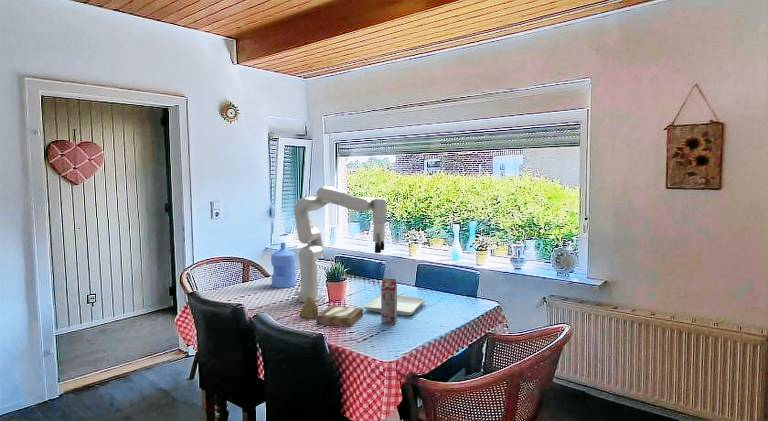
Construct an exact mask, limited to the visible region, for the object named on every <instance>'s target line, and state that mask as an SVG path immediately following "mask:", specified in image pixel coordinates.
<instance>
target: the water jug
mask: <svg viewBox="0 0 768 421" xmlns="http://www.w3.org/2000/svg"><path fill="white" fill-rule="evenodd" d="M270 259H271V266H272V267H273V274H271V286H272V287H273V288H279V289H287V288H292V287H295V286H296V284H297V280H296V279H297V278H296V276H297V275H296V272H297V269H296V268H297V267H296V253H295V252H293V251H291V250H290V249H287V248H286V242H280V249H279V250H277V251H275V252H273V253H271V256H270Z"/></svg>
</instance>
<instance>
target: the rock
mask: <svg viewBox="0 0 768 421" xmlns="http://www.w3.org/2000/svg"><path fill="white" fill-rule="evenodd" d="M303 303H304V304H303V305H302V308H301V310H300V311H299V315H298V317H302V318H307V319H313V320H314V319H315V320H316V316H317V315H318V314H319V310H318V309H319V308H318V306H317V304H316V301H315V302H314V300H313V298H311V297H308V298H307V300H306V301H305V302H303Z"/></svg>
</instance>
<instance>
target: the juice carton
mask: <svg viewBox="0 0 768 421" xmlns="http://www.w3.org/2000/svg"><path fill="white" fill-rule="evenodd" d="M381 280H382V282H381V288H380V289H381V290H380V296H381V313H380V314H381V319H380V320H381V325H385V326H386V325H388V326H391V325H392V326H395V325H396V324H397V321H398V315H397V296H398V283H397V278H387V277H385V278H382V279H381Z"/></svg>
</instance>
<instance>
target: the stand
mask: <svg viewBox="0 0 768 421" xmlns="http://www.w3.org/2000/svg"><path fill="white" fill-rule="evenodd" d="M363 315H364V307H354V306H353V307H351V306H340V305H339V306H336V305H329V306H328V307H327V308H325V309H324V310H322V311H321V312H318V315H317V316H316V319H315V321H316V322H315V323H316V325H329V326H338V327H339V326H341V327H353V325H355V324H356V323H357V322H358V321H359V320H360V319H361V318H362V317H363Z"/></svg>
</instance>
